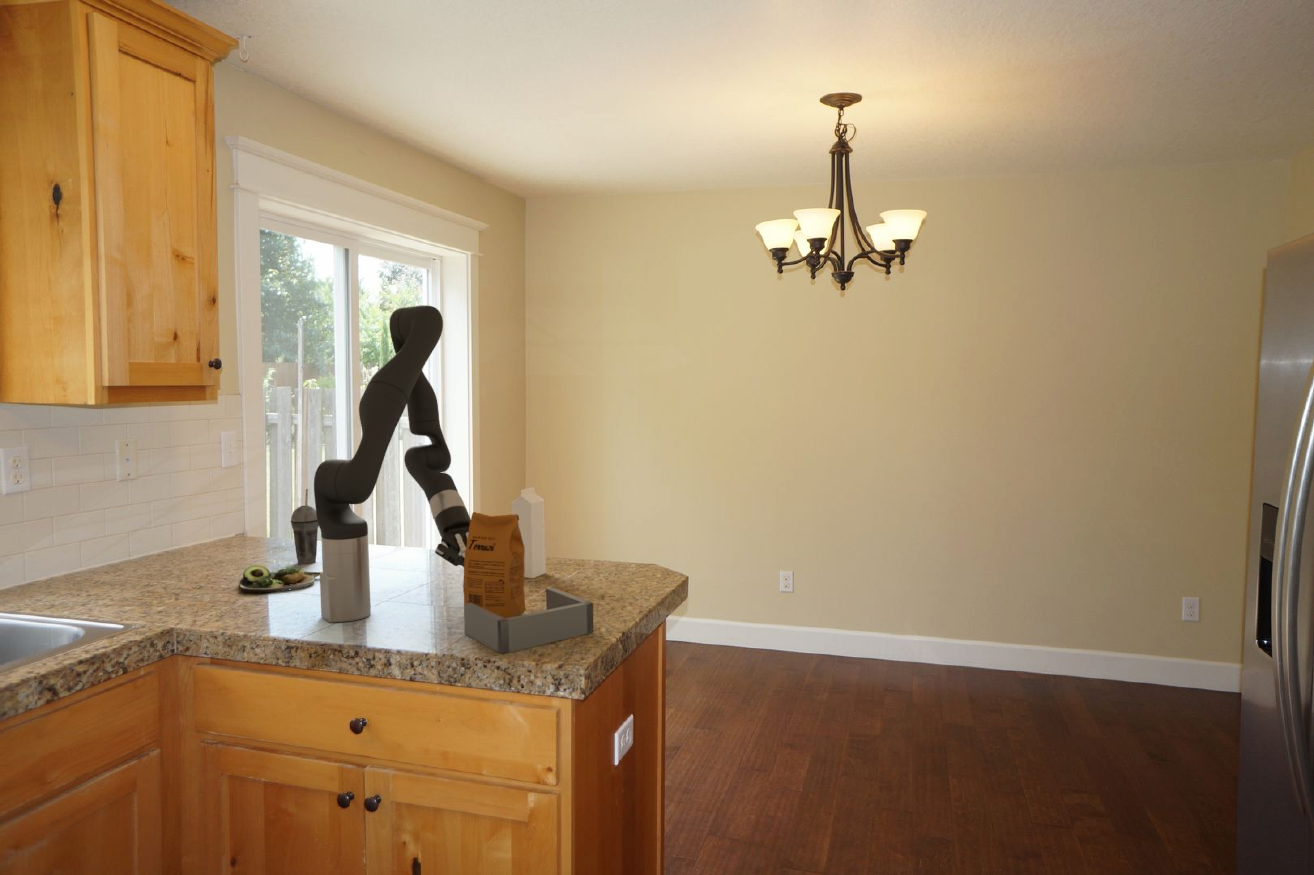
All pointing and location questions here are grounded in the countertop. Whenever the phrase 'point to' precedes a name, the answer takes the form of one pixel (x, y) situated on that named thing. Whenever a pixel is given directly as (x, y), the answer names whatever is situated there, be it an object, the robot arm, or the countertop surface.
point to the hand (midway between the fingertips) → (476, 577)
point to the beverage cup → (305, 533)
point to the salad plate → (274, 579)
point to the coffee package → (495, 565)
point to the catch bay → (531, 623)
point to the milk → (531, 531)
